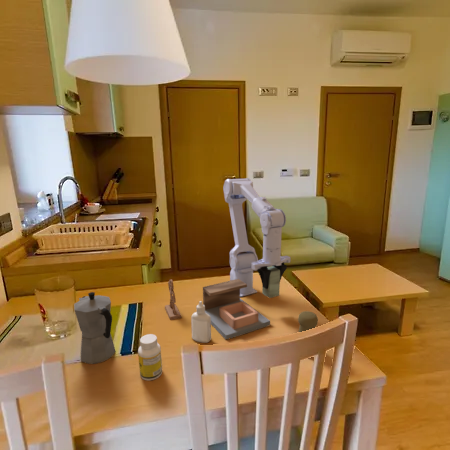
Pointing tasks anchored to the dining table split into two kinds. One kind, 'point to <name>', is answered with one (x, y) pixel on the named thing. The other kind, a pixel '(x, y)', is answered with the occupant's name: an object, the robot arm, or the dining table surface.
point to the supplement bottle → (149, 357)
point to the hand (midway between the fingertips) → (270, 286)
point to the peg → (272, 283)
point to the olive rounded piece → (307, 320)
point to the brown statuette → (172, 304)
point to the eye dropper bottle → (201, 324)
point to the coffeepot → (95, 328)
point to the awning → (222, 293)
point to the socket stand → (236, 319)
